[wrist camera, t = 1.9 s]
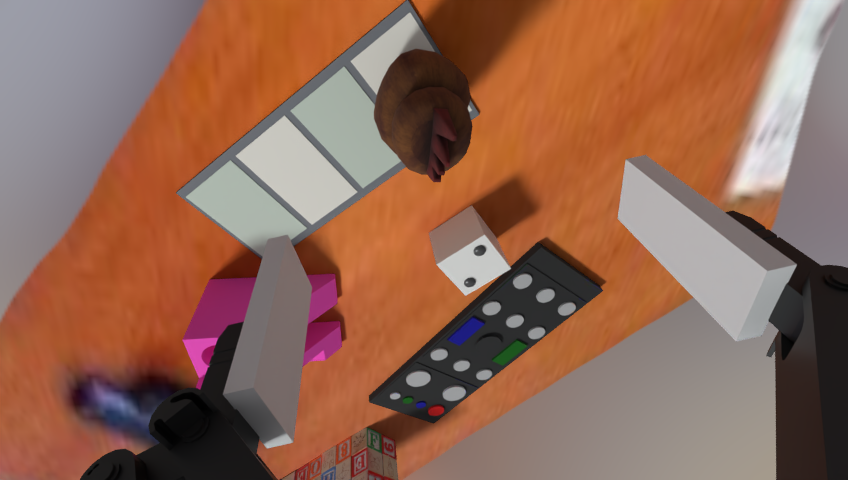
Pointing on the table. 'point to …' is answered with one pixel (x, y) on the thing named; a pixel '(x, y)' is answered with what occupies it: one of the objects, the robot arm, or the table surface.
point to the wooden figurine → (424, 112)
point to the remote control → (487, 335)
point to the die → (468, 251)
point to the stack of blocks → (353, 460)
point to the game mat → (311, 146)
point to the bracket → (230, 305)
